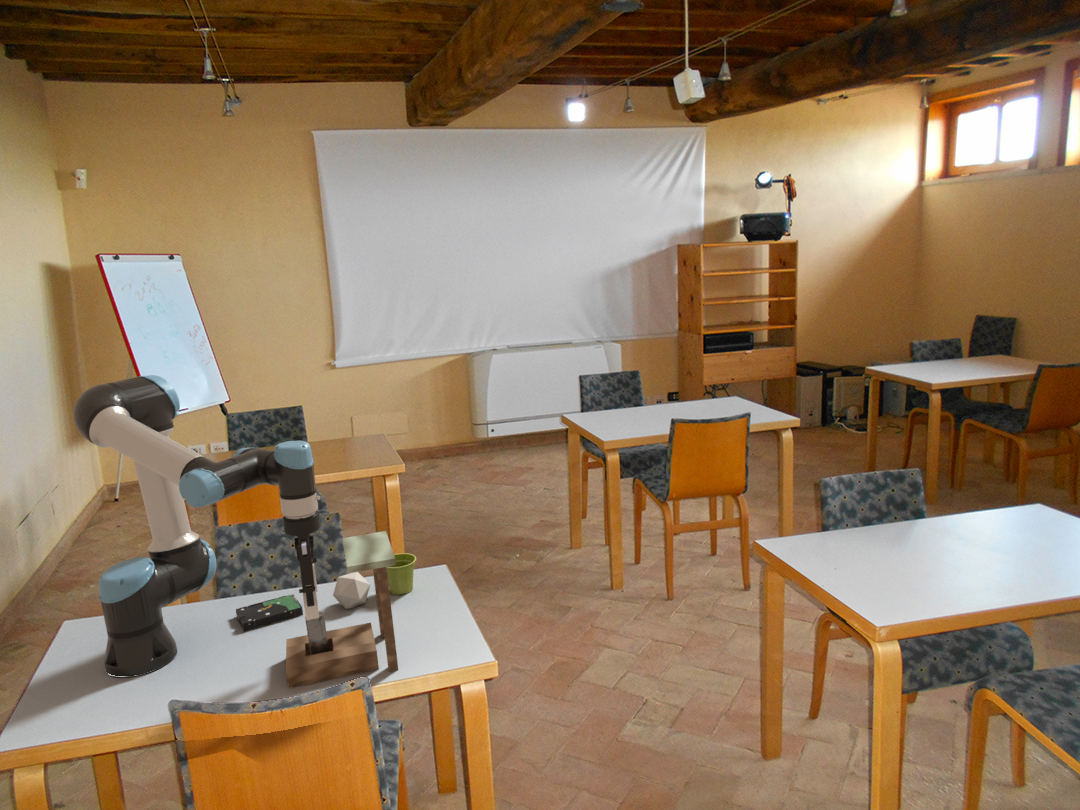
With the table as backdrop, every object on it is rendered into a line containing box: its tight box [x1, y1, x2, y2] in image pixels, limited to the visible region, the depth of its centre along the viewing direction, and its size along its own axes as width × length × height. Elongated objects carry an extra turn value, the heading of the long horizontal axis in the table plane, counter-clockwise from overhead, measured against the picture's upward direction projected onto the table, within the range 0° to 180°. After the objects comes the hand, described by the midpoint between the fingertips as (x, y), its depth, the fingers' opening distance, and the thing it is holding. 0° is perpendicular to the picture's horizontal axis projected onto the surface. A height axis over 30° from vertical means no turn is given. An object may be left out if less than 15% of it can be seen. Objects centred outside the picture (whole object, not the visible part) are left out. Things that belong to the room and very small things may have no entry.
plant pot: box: [387, 552, 417, 596], centre depth 210 cm, size 9×9×9 cm
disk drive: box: [235, 594, 304, 632], centre depth 201 cm, size 10×3×15 cm
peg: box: [304, 611, 329, 655], centre depth 173 cm, size 4×4×11 cm
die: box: [332, 572, 371, 610], centre depth 204 cm, size 8×9×10 cm
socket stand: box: [285, 530, 399, 689], centre depth 174 cm, size 25×18×26 cm
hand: (311, 604), depth 172 cm, fingers open, 13 cm apart
